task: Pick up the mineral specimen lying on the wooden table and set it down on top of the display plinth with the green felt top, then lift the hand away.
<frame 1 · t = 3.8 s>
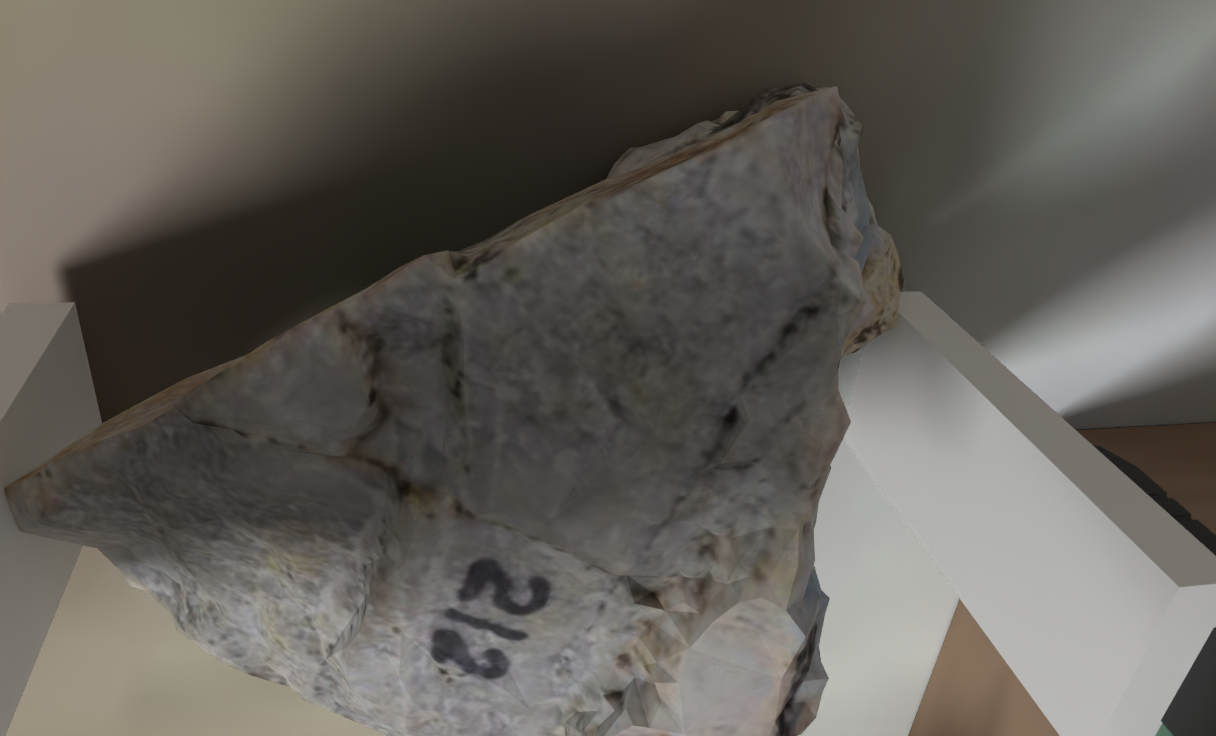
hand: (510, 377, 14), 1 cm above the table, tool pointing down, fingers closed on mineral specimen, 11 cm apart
mineral specimen: (511, 305, 14), on the table, touching gripper
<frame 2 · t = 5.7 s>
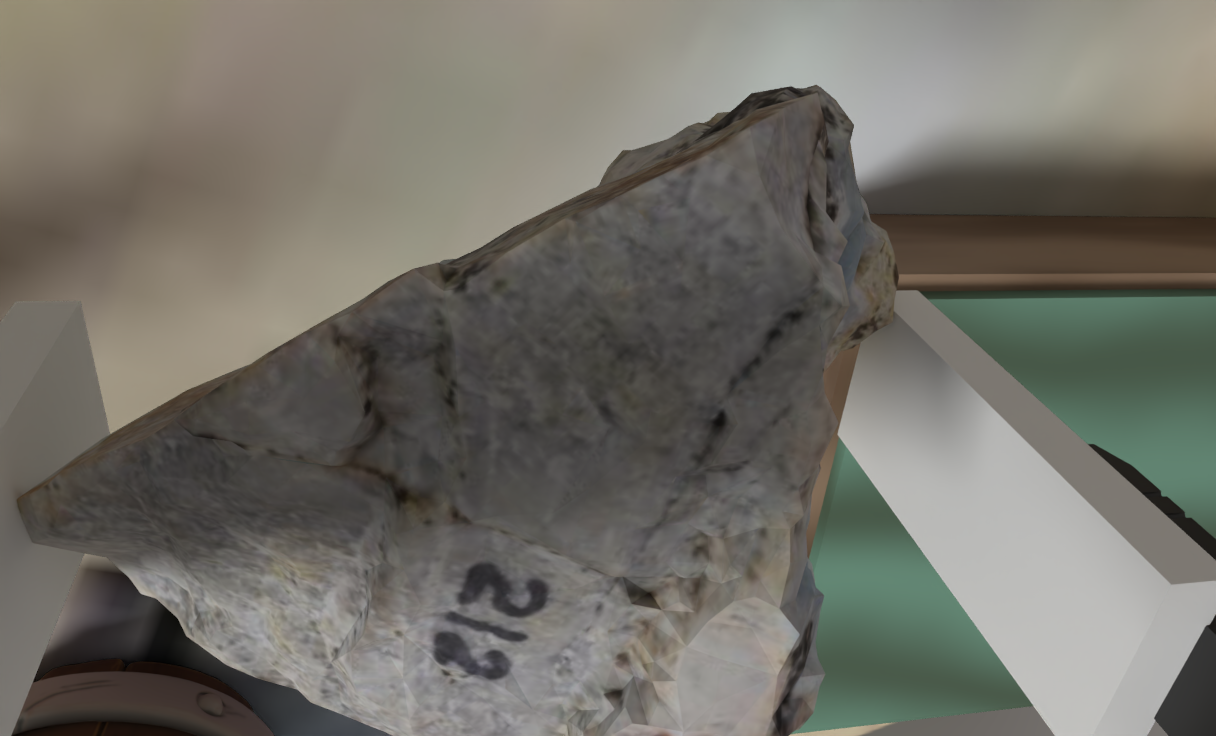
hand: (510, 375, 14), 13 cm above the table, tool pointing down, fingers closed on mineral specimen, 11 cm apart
mineral specimen: (510, 308, 14), point 12 cm above the table, touching gripper
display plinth: (980, 445, 34), on the table
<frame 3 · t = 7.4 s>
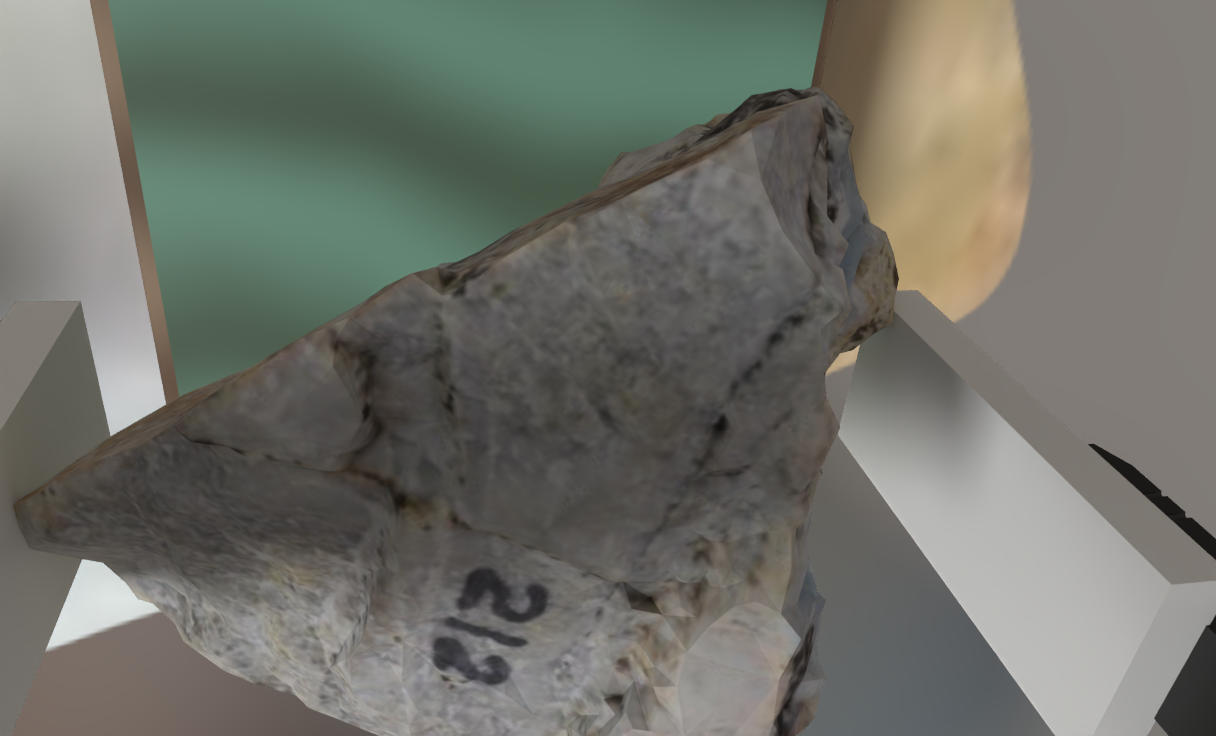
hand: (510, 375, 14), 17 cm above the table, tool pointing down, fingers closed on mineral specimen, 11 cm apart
mineral specimen: (508, 310, 14), point 16 cm above the table, touching gripper
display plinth: (474, 102, 28), on the table
when the fingers open (8 cm above the table, at t = 10.2 s): mineral specimen drops 2 cm, resting on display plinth.
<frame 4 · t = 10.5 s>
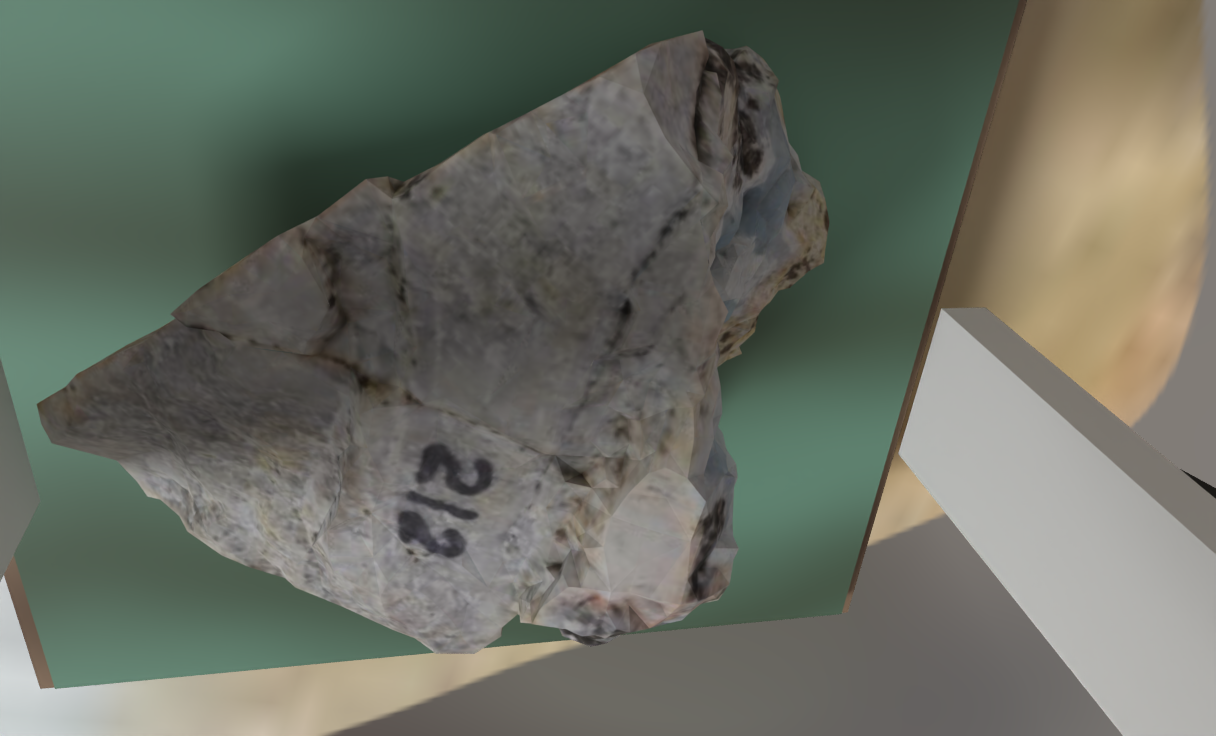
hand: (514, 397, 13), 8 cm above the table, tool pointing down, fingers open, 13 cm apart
mineral specimen: (479, 255, 16), point 5 cm above the table, touching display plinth
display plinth: (470, 197, 20), on the table
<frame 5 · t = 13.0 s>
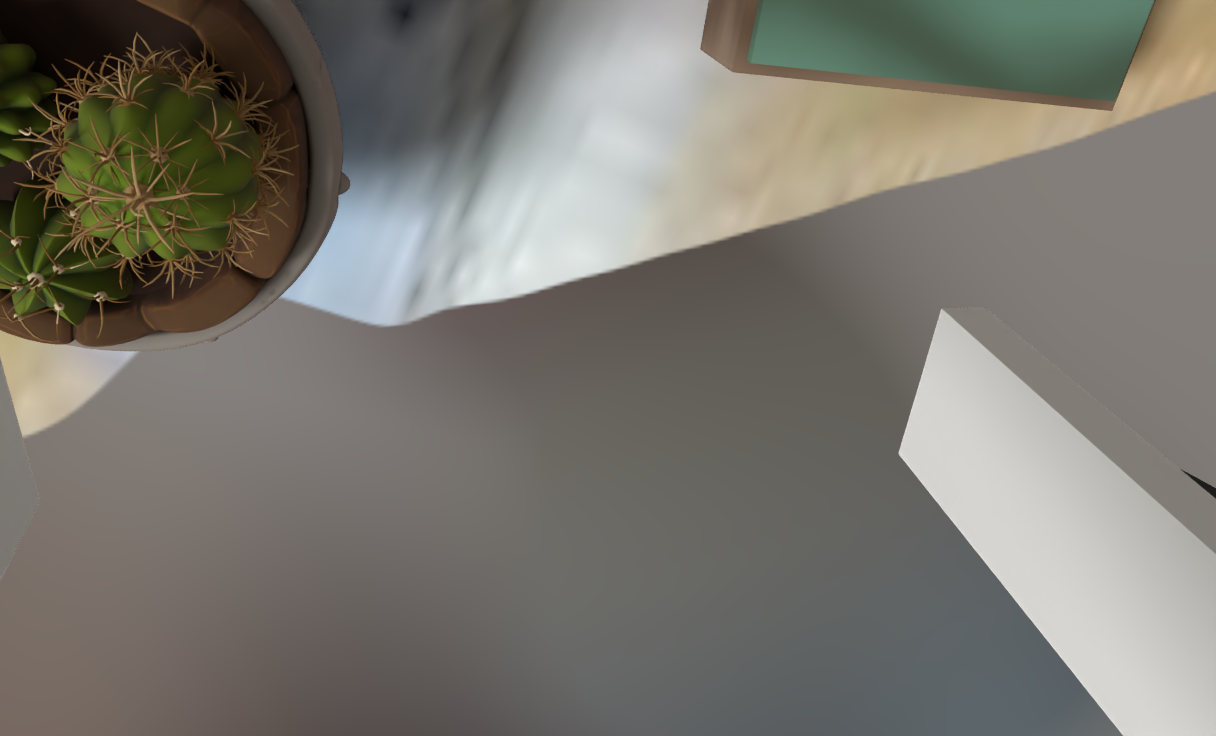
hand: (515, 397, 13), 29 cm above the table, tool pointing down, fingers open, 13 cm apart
flowerpot: (164, 69, 37), on the table
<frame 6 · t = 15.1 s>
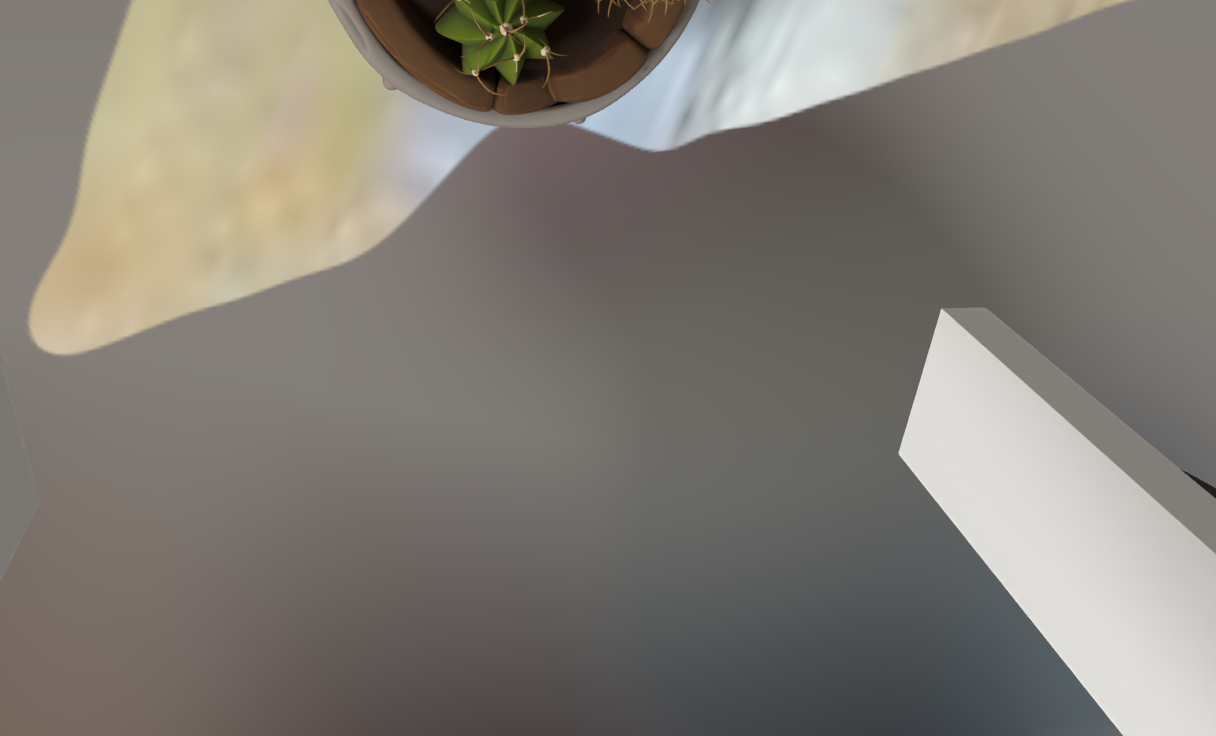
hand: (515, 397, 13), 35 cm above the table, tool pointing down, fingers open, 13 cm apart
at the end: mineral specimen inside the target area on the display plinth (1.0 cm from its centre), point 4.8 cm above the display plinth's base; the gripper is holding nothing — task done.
